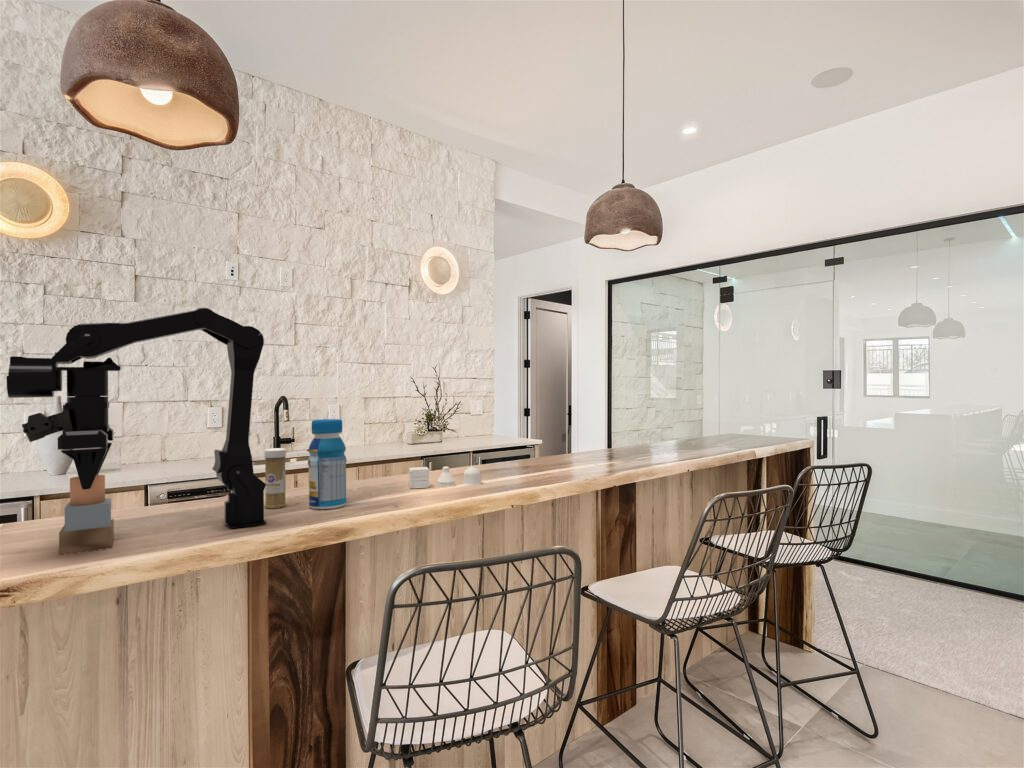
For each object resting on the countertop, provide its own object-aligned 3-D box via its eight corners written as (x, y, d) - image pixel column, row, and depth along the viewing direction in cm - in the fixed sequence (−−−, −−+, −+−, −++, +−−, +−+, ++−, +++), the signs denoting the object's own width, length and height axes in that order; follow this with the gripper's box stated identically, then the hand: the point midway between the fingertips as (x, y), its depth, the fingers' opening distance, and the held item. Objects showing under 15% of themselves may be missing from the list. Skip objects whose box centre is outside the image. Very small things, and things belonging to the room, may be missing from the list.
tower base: (113, 541, 99) (113, 519, 99) (111, 549, 93) (111, 526, 94) (64, 547, 95) (64, 524, 95) (59, 557, 90) (59, 533, 90)
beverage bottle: (335, 511, 120) (334, 420, 121) (300, 509, 122) (299, 420, 122) (353, 503, 129) (352, 418, 129) (321, 502, 130) (320, 418, 131)
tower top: (111, 520, 99) (110, 498, 99) (109, 526, 94) (109, 503, 94) (68, 525, 95) (68, 502, 95) (64, 532, 90) (64, 508, 90)
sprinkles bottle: (262, 509, 123) (262, 450, 123) (267, 505, 127) (267, 448, 128) (284, 508, 124) (283, 449, 124) (288, 504, 128) (287, 447, 128)
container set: (410, 490, 146) (410, 469, 146) (409, 487, 151) (408, 467, 151) (483, 485, 151) (483, 465, 151) (479, 482, 156) (479, 463, 156)
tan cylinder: (106, 499, 98) (106, 474, 98) (103, 503, 94) (103, 477, 94) (71, 502, 95) (71, 476, 95) (68, 506, 91) (68, 480, 91)
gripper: (37, 397, 98) (37, 484, 98) (14, 397, 83) (15, 500, 82) (113, 396, 104) (113, 477, 104) (105, 396, 89) (106, 492, 89)
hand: (88, 486), depth 95 cm, fingers open, 7 cm apart
